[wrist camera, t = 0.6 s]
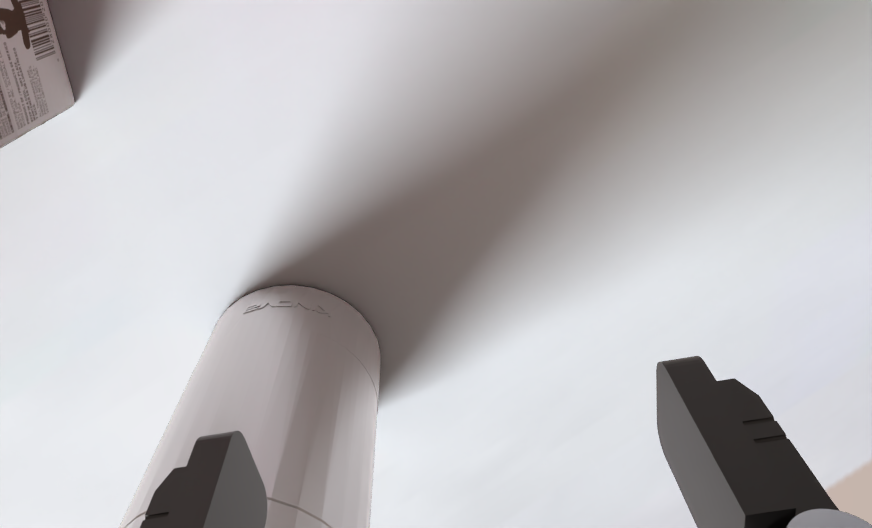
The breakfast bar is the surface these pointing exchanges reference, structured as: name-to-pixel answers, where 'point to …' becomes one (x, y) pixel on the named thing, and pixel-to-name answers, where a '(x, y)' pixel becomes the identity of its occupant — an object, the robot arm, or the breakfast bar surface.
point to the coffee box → (29, 69)
